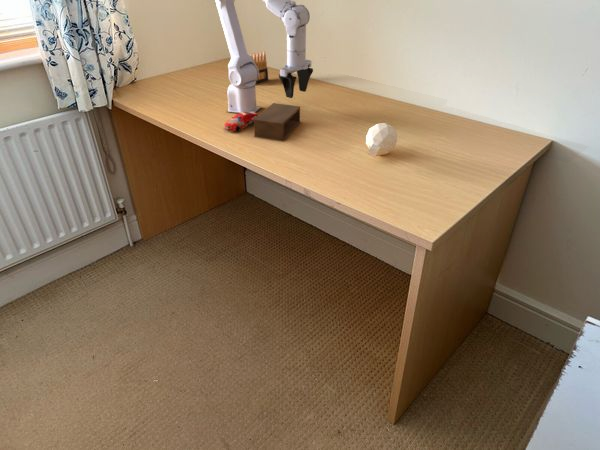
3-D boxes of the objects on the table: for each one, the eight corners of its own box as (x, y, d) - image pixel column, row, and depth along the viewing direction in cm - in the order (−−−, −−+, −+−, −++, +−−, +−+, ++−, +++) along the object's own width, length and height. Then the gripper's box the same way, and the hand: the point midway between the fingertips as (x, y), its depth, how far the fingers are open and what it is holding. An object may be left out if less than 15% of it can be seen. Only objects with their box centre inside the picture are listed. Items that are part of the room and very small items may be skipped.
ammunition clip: (249, 85, 179) (247, 55, 172) (246, 84, 180) (244, 54, 173) (268, 80, 185) (267, 50, 178) (265, 79, 186) (264, 50, 179)
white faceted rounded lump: (367, 137, 131) (353, 157, 123) (378, 112, 124) (364, 131, 116) (393, 150, 129) (381, 171, 122) (406, 125, 123) (393, 146, 115)
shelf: (254, 136, 135) (253, 119, 132) (274, 119, 148) (273, 102, 145) (282, 140, 133) (282, 123, 130) (300, 122, 145) (300, 106, 142)
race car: (232, 134, 137) (231, 122, 135) (221, 130, 140) (220, 118, 137) (261, 122, 145) (261, 110, 143) (250, 118, 148) (249, 107, 146)
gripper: (293, 56, 126) (293, 102, 134) (319, 47, 136) (318, 90, 143) (274, 53, 129) (275, 98, 137) (301, 44, 139) (300, 86, 147)
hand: (296, 94), depth 140 cm, fingers open, 7 cm apart
